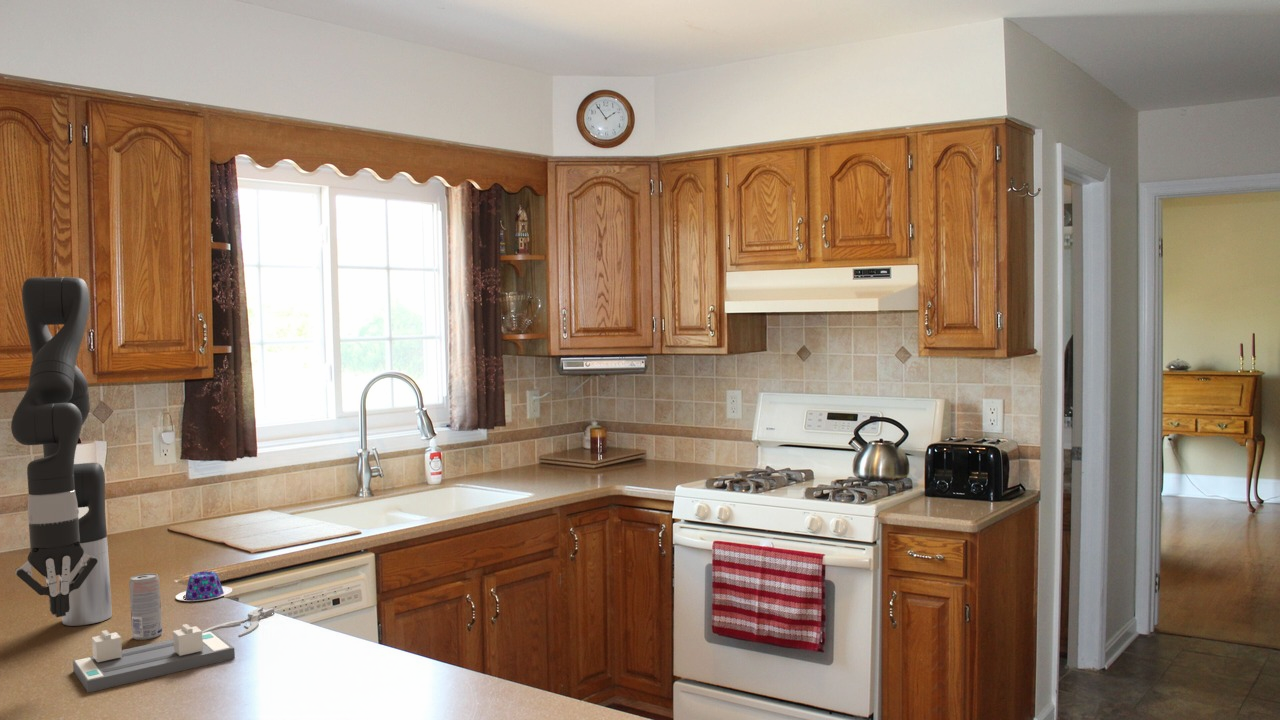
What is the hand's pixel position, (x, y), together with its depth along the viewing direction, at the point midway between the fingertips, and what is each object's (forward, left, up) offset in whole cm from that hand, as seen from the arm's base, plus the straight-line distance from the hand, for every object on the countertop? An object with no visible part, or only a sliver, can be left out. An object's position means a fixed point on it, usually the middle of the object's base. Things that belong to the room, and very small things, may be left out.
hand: (60, 615), depth 177 cm
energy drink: (-17, +17, -12) cm, 27 cm away
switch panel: (+3, +14, -11) cm, 18 cm away
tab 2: (+7, +19, -9) cm, 22 cm away
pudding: (-41, +34, -12) cm, 54 cm away
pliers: (-11, +34, -12) cm, 38 cm away
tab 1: (0, +7, -9) cm, 11 cm away
